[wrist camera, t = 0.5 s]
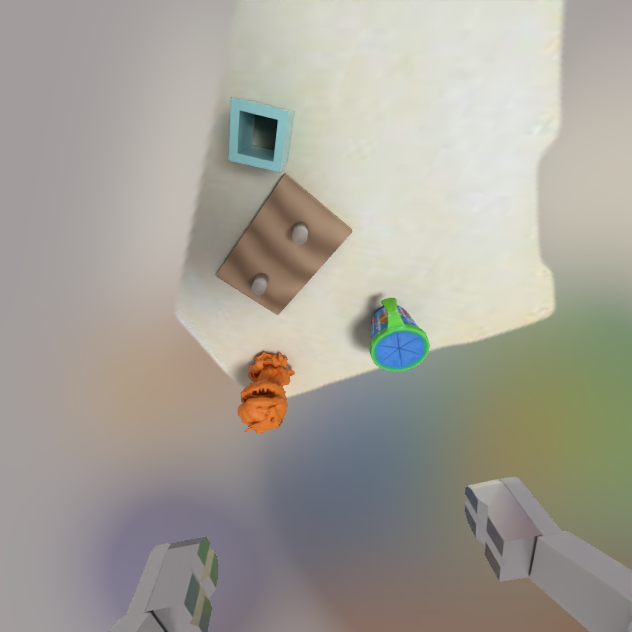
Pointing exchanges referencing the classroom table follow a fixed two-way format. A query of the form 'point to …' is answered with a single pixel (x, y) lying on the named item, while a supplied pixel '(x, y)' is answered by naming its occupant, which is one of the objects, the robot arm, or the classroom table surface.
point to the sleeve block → (244, 131)
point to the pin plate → (283, 246)
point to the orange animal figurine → (265, 393)
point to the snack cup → (396, 339)
